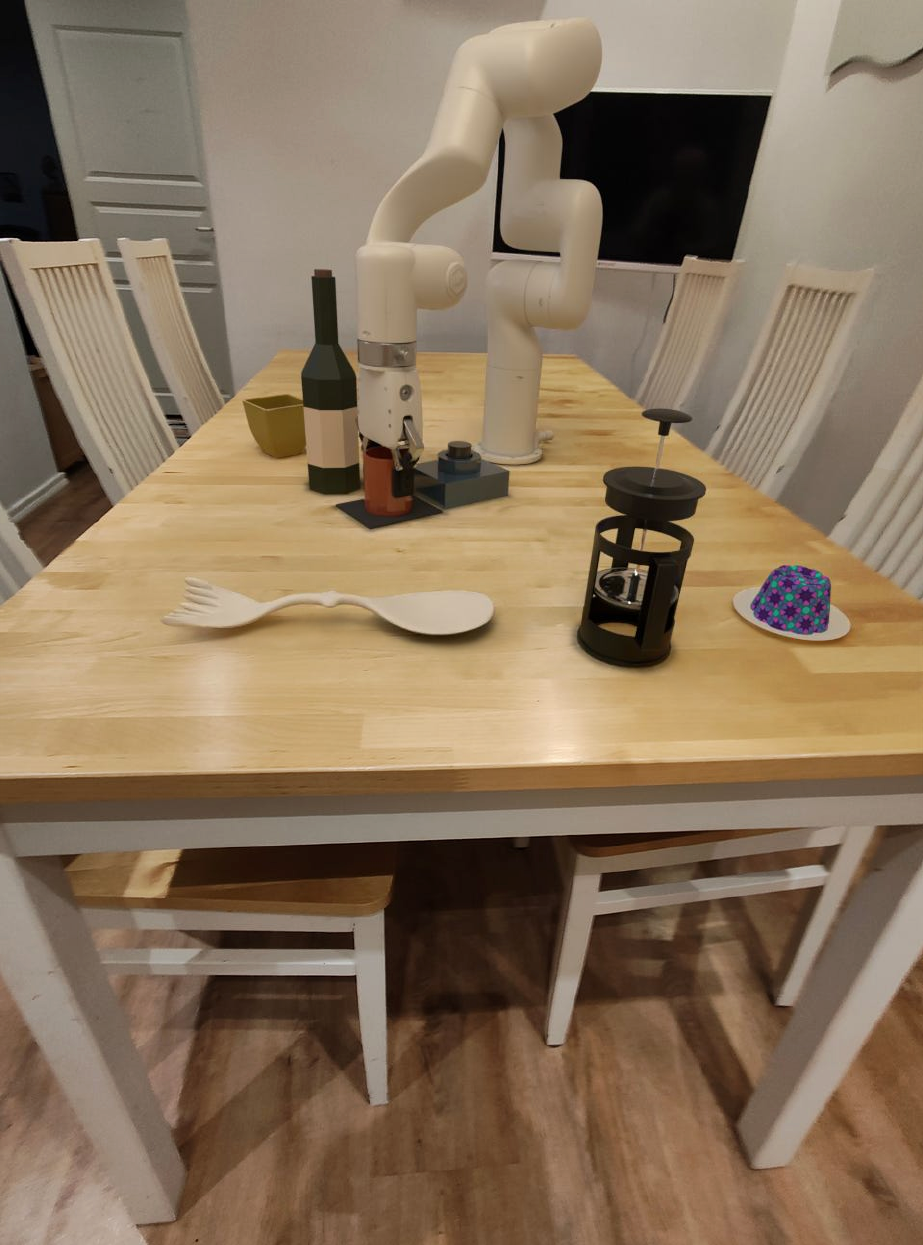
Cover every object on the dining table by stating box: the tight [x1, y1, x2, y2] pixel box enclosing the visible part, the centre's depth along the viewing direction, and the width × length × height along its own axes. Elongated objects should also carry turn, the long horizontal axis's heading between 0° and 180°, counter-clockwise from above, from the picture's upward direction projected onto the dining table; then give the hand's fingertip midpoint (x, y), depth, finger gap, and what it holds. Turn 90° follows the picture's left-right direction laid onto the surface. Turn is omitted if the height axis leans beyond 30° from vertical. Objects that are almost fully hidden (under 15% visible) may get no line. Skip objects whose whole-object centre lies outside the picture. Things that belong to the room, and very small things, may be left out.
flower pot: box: [242, 393, 306, 459], centre depth 117 cm, size 9×9×9 cm
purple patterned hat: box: [732, 564, 851, 641], centre depth 73 cm, size 12×12×5 cm
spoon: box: [159, 576, 496, 636], centre depth 68 cm, size 9×32×4 cm, turn 94°
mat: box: [335, 494, 444, 530], centre depth 98 cm, size 12×10×1 cm
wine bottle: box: [300, 268, 361, 496], centre depth 98 cm, size 8×8×30 cm
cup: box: [362, 446, 414, 516], centre depth 95 cm, size 7×7×8 cm
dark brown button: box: [447, 440, 473, 459], centre depth 102 cm, size 4×4×2 cm
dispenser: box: [414, 449, 511, 511], centre depth 104 cm, size 12×10×6 cm
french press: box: [576, 407, 707, 669], centre depth 62 cm, size 12×9×23 cm
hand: (388, 487), depth 96 cm, fingers open, 7 cm apart
